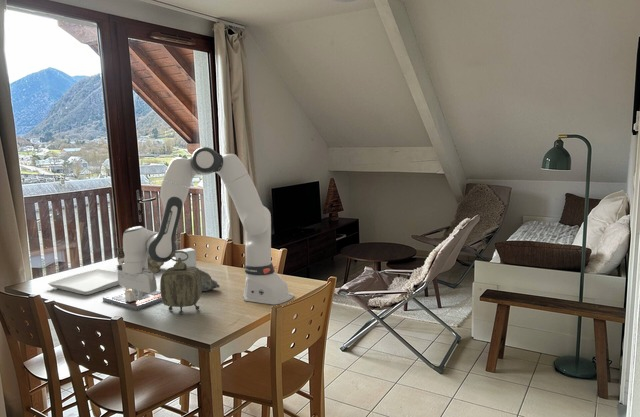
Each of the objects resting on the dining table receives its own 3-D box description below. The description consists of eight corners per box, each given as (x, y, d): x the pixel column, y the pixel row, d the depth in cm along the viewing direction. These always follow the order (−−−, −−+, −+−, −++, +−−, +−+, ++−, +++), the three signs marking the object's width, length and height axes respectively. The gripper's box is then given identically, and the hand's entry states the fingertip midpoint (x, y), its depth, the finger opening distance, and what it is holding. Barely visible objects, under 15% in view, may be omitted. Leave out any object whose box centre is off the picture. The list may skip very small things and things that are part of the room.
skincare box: (192, 276, 242) (190, 247, 239) (197, 279, 237) (196, 249, 235) (176, 279, 236) (174, 250, 234) (181, 282, 232) (179, 252, 230)
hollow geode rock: (119, 276, 260) (102, 261, 249) (130, 256, 267) (114, 241, 256) (161, 279, 250) (145, 264, 239) (171, 259, 257) (156, 243, 246)
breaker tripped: (136, 299, 200) (135, 289, 200) (130, 301, 198) (129, 291, 197) (131, 298, 202) (131, 288, 201) (125, 300, 199) (124, 290, 199)
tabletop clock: (203, 308, 196) (200, 248, 192) (198, 316, 187) (195, 253, 183) (167, 309, 195) (163, 248, 192) (160, 317, 186) (156, 254, 183)
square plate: (47, 290, 223) (46, 282, 222) (98, 275, 247) (97, 268, 246) (86, 299, 210) (85, 290, 210) (136, 282, 234) (135, 274, 234)
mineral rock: (221, 290, 219) (220, 269, 217) (202, 297, 210) (201, 274, 209) (202, 285, 226) (201, 265, 225) (183, 291, 218) (182, 270, 216)
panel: (171, 298, 209) (171, 293, 209) (135, 310, 194) (135, 306, 194) (139, 289, 221) (138, 285, 220) (103, 301, 206) (102, 296, 206)
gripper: (159, 268, 192) (161, 302, 194) (127, 261, 203) (129, 293, 205) (146, 272, 187) (148, 306, 189) (113, 265, 198) (116, 297, 200)
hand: (138, 299), depth 197 cm, fingers closed
